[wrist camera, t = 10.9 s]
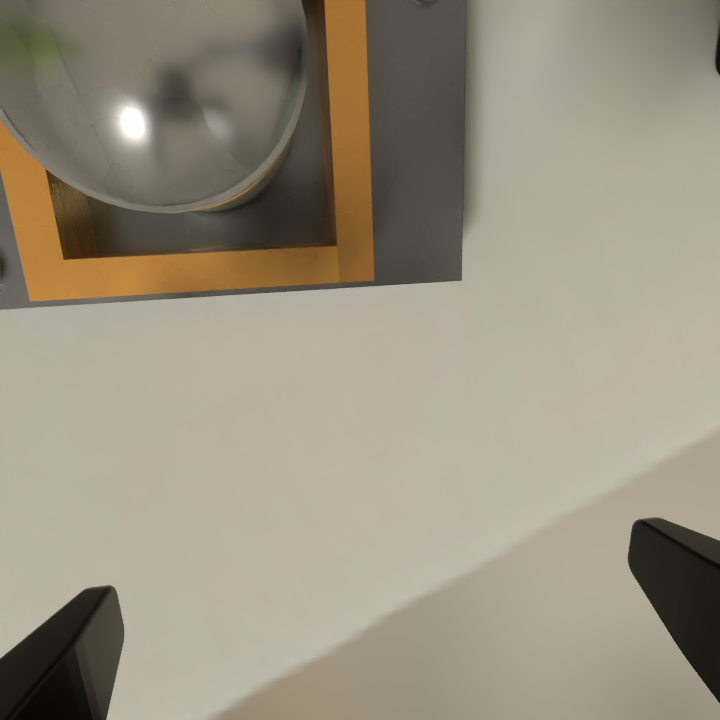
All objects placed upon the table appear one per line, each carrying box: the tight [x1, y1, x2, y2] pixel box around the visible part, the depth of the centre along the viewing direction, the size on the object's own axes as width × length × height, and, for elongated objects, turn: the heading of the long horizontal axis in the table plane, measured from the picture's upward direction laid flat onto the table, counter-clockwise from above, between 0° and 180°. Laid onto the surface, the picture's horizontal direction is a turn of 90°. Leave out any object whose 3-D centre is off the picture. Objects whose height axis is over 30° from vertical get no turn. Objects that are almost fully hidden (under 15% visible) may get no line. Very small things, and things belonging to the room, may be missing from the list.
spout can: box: [0, 0, 309, 213], centre depth 11 cm, size 5×8×7 cm, turn 3°
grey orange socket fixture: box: [0, 0, 466, 309], centre depth 14 cm, size 18×10×5 cm, turn 92°
